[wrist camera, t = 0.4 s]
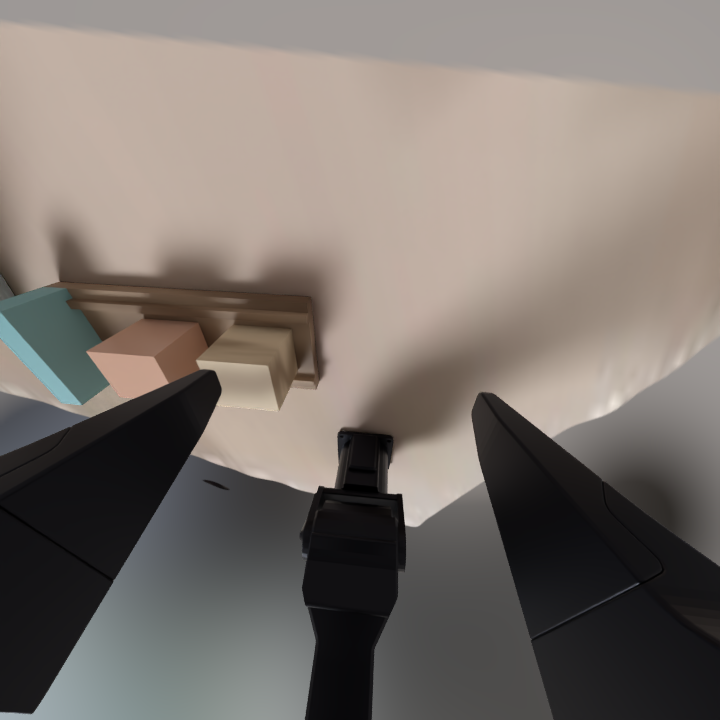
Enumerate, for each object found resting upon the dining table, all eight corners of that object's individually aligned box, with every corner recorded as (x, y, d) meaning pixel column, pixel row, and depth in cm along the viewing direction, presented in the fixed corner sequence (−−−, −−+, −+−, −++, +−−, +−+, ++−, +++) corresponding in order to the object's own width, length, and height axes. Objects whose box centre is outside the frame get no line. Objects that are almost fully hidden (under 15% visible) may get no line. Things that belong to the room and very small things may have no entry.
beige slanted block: (297, 370, 23) (278, 411, 19) (245, 366, 24) (216, 405, 20) (291, 328, 21) (267, 365, 17) (232, 324, 21) (195, 360, 17)
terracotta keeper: (214, 364, 24) (179, 402, 20) (164, 360, 24) (119, 397, 20) (198, 322, 21) (153, 356, 17) (142, 318, 22) (85, 351, 18)
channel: (318, 381, 26) (314, 394, 24) (115, 365, 27) (100, 375, 26) (310, 296, 20) (304, 306, 19) (58, 281, 22) (35, 289, 20)
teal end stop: (124, 373, 26) (82, 405, 23) (105, 372, 26) (61, 403, 23) (66, 288, 21) (-1, 311, 17) (43, 286, 21) (-27, 309, 17)
